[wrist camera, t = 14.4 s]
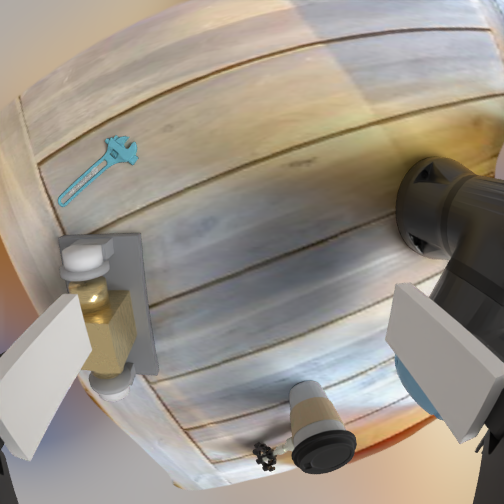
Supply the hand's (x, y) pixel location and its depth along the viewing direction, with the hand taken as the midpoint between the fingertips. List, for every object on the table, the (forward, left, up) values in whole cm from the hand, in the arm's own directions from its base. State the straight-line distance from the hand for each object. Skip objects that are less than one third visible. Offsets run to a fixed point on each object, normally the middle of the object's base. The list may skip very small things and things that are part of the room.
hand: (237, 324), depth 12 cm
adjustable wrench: (+18, -5, -29) cm, 34 cm away
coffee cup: (-12, +31, -29) cm, 44 cm away
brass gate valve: (+18, +14, -27) cm, 35 cm away
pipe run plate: (+18, +14, -28) cm, 36 cm away
